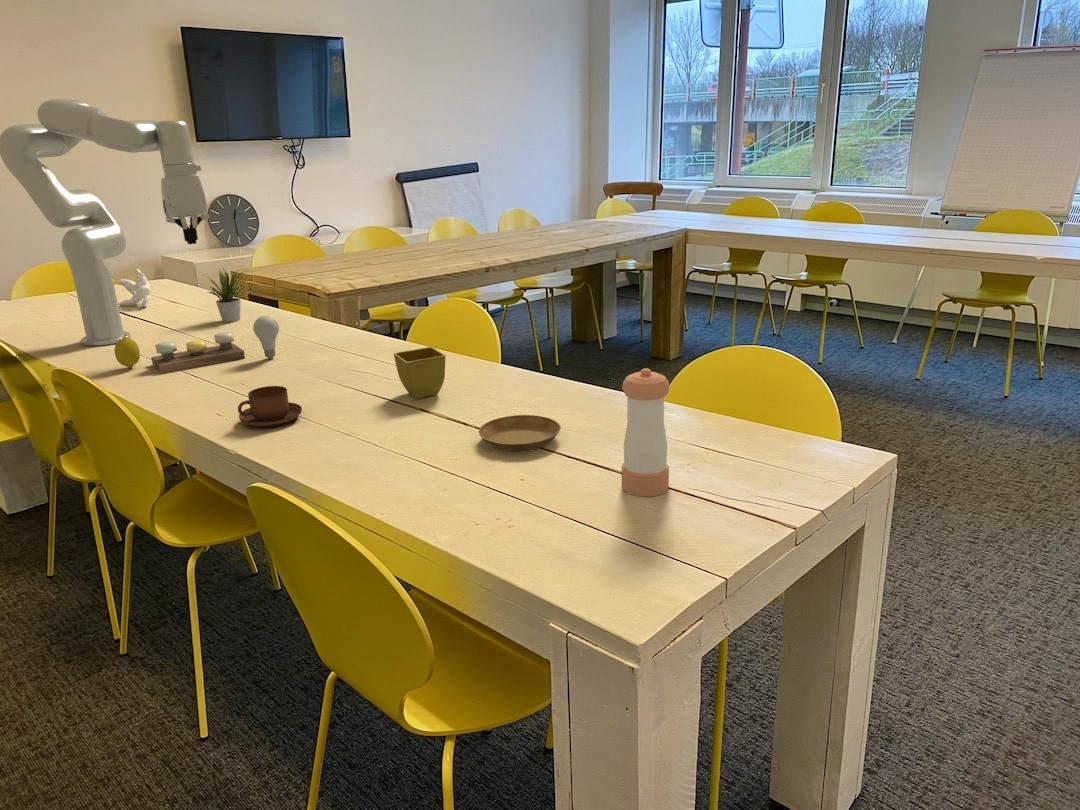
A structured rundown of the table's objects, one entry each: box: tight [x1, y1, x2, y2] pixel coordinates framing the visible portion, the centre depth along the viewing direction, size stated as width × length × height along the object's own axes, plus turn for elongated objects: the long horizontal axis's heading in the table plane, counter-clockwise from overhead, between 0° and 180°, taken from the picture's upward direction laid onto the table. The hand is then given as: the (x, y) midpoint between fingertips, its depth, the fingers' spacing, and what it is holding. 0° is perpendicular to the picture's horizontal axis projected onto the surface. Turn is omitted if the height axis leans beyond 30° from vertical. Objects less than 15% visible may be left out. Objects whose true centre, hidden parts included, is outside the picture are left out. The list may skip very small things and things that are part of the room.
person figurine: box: [118, 268, 151, 308], centre depth 279 cm, size 13×13×18 cm
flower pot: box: [393, 346, 447, 399], centre depth 175 cm, size 9×9×9 cm
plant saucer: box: [478, 414, 562, 453], centre depth 148 cm, size 15×15×3 cm
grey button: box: [213, 331, 235, 351], centre depth 211 cm, size 5×5×4 cm
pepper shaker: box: [621, 367, 671, 498], centre depth 125 cm, size 7×7×19 cm
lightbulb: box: [252, 315, 280, 360], centre depth 206 cm, size 6×6×11 cm
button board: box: [150, 342, 246, 374], centre depth 208 cm, size 10×20×2 cm, turn 125°
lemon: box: [114, 337, 141, 369], centre depth 203 cm, size 6×6×8 cm
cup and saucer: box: [237, 385, 303, 428], centre depth 163 cm, size 12×12×6 cm
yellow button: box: [185, 340, 207, 356], centre depth 207 cm, size 5×5×4 cm
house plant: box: [201, 266, 250, 323], centre depth 249 cm, size 14×14×16 cm
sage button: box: [155, 341, 178, 361], centre depth 203 cm, size 5×5×4 cm
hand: (191, 243), depth 217 cm, fingers closed
